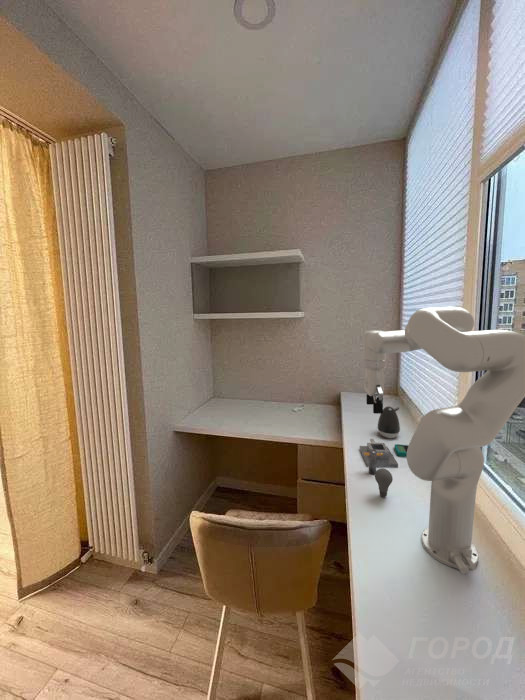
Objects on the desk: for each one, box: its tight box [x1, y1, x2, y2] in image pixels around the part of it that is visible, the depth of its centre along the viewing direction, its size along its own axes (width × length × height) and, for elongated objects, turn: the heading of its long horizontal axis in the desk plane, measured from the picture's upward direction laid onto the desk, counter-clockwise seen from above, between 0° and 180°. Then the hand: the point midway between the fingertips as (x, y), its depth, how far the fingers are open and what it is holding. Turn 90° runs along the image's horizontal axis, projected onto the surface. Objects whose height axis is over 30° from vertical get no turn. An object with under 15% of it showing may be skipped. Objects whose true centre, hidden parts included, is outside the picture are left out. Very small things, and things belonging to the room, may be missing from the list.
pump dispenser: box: [377, 406, 401, 439], centre depth 138 cm, size 10×10×15 cm
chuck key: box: [364, 449, 383, 476], centre depth 109 cm, size 7×3×9 cm, turn 83°
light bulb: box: [374, 467, 393, 498], centre depth 95 cm, size 6×6×10 cm
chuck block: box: [359, 438, 399, 468], centre depth 120 cm, size 16×12×5 cm
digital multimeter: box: [393, 443, 409, 458], centre depth 121 cm, size 7×15×3 cm, turn 76°
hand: (374, 408), depth 105 cm, fingers open, 9 cm apart
